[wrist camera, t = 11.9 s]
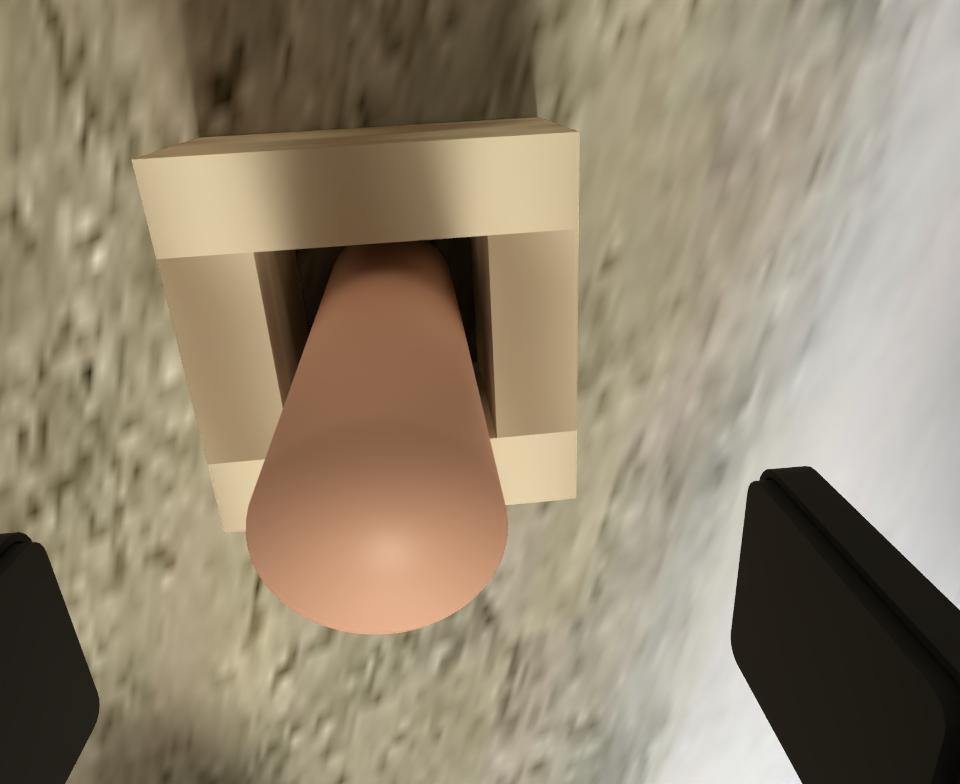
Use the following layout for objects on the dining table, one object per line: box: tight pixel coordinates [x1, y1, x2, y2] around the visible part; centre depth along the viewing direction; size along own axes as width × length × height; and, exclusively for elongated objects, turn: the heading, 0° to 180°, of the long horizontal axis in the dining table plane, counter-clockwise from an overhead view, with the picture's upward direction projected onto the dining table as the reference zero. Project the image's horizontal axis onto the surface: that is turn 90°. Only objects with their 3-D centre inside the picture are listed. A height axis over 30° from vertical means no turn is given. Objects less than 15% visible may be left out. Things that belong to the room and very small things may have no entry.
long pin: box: [246, 240, 508, 634], centre depth 15 cm, size 4×4×12 cm
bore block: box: [132, 117, 580, 533], centre depth 18 cm, size 9×9×5 cm
